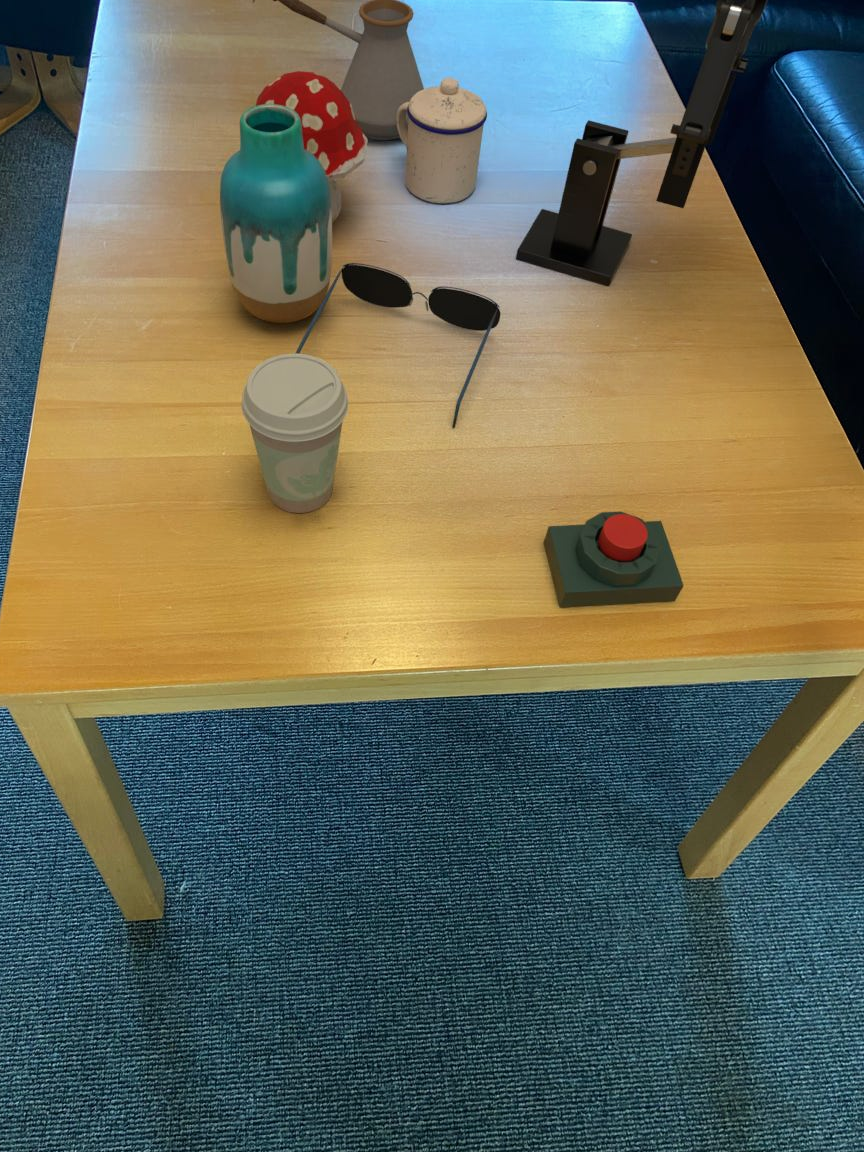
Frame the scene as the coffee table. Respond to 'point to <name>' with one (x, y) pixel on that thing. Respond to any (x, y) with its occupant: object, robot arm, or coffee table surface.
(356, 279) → the sunglasses
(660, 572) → the button housing
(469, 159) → the teacup with lid
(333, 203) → the decorative mushroom
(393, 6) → the coffee pot
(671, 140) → the lever
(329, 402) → the coffee cup
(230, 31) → the coffee table surface
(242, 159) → the vase
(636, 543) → the button
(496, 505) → the coffee table surface
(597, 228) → the black lever stand
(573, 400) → the coffee table surface
